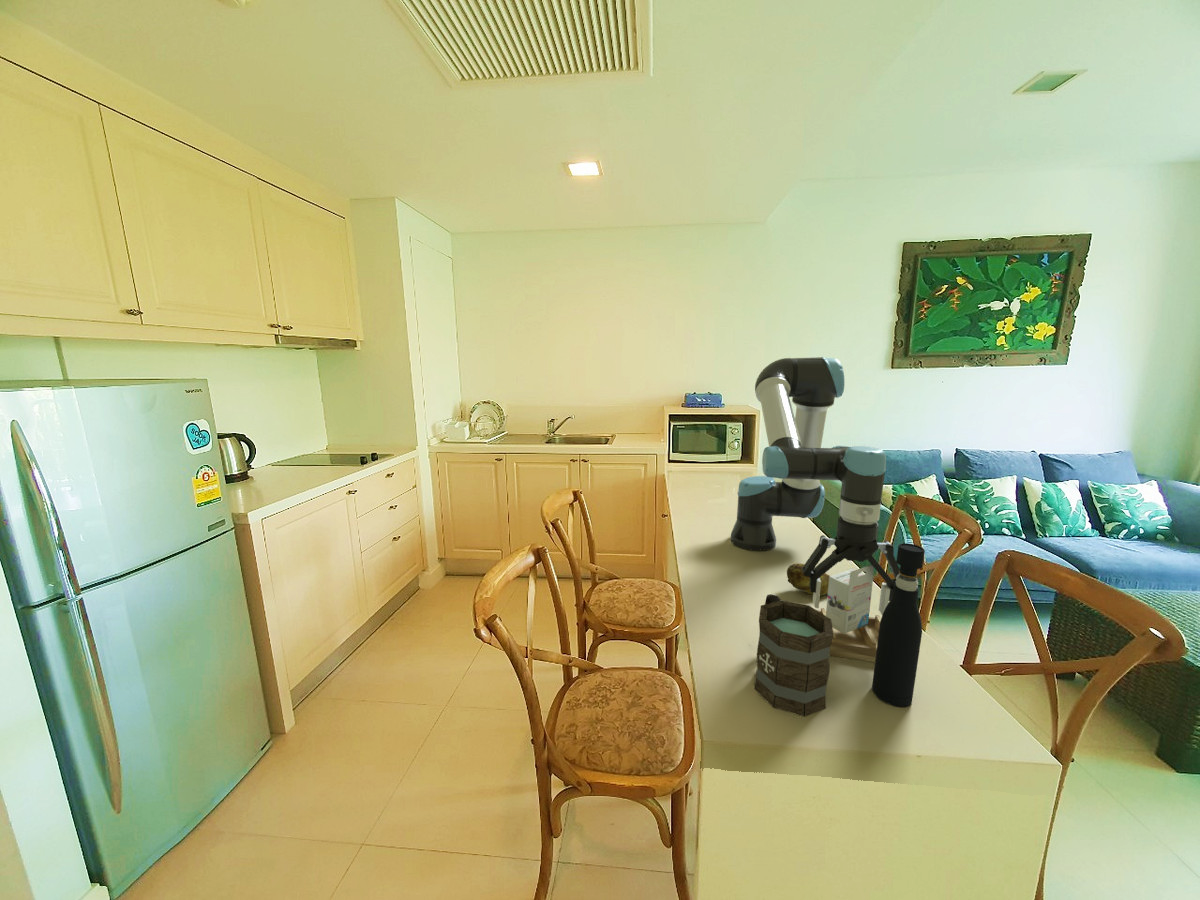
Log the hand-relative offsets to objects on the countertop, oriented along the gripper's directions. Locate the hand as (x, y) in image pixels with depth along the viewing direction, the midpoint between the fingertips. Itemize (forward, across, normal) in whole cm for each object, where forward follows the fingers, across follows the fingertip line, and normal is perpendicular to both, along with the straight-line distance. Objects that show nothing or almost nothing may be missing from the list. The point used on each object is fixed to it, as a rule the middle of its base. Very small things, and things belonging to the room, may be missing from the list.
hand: (848, 609), depth 98 cm
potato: (+8, -4, +21) cm, 23 cm away
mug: (+8, -15, -16) cm, 24 cm away
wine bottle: (+8, +4, -16) cm, 18 cm away
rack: (+8, -2, 0) cm, 8 cm away
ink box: (+4, 0, 0) cm, 4 cm away
